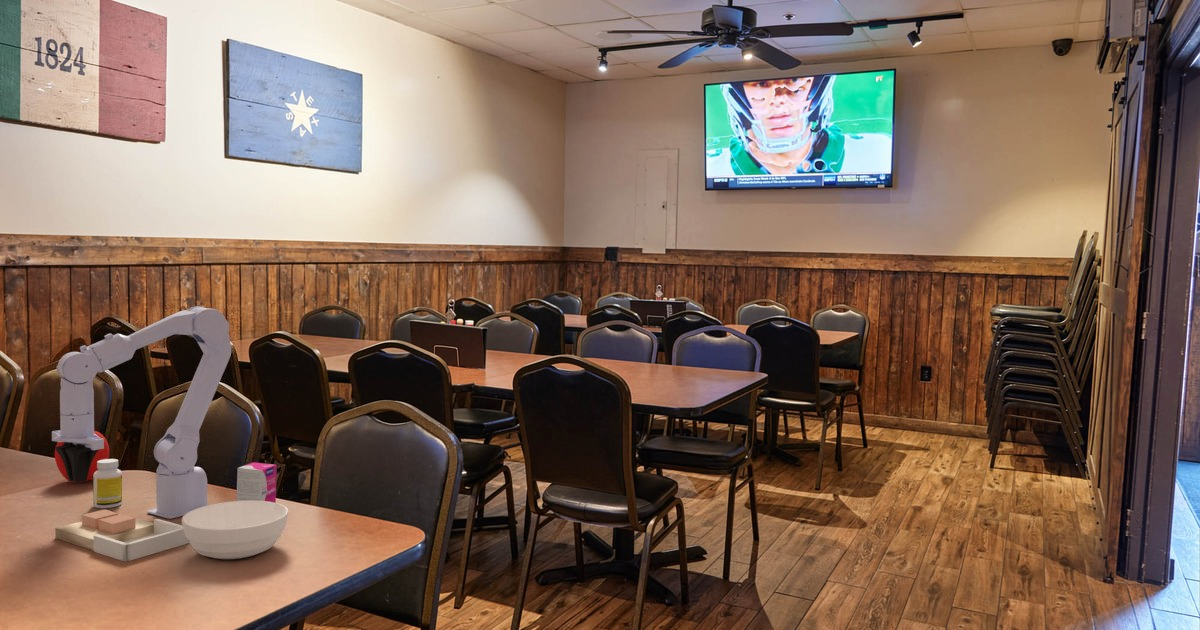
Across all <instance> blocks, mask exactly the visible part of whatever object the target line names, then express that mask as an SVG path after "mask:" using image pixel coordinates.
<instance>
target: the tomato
mask: <svg viewBox="0 0 1200 630" xmlns="http://www.w3.org/2000/svg"><path fill="white" fill-rule="evenodd" d="M94 433H95V434H96V435H97V436H98V437H100V438H102V439H104V449H99V450H98V452H97V453H96V455H95V457H94V459H93V461H92V463H91V466H90V470H89V473H88V477H87V480H86V481H83V482H82V483H85V482H89V481H91V480H92V481H93V475H94V473H95V472H96V471H98V468H97V462H98V461H99V460H104V459H110V458H109V457H110V446H109V443H108V440H107V438H106V437H105V436H104V435H103V434H102V433H101V432H99V431H97V430H94ZM63 444H64V442H56V445H55V450H54V460H55V464H56V467H57V469H58V471H59V473H60V474H61V475H62V477H64V478H65V480H67V481H68V482H71V483H73V484H76V483H75V482H74V481H69V479H68V476H67V473H66V469H65V466H64V463H63V461H62V459H61V457H60V455H59V454H58V452H57V451H56V447H57V446H63ZM79 483H81V482H78V484H79Z"/></svg>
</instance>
